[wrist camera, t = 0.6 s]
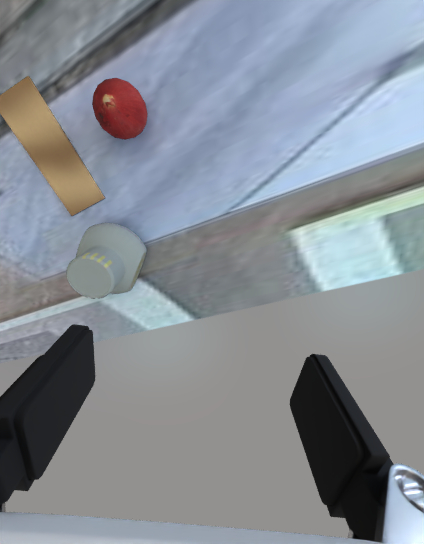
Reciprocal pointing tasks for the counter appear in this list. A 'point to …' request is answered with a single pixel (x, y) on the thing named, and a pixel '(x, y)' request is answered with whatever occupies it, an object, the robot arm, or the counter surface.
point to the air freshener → (106, 261)
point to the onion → (119, 108)
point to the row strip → (48, 146)
